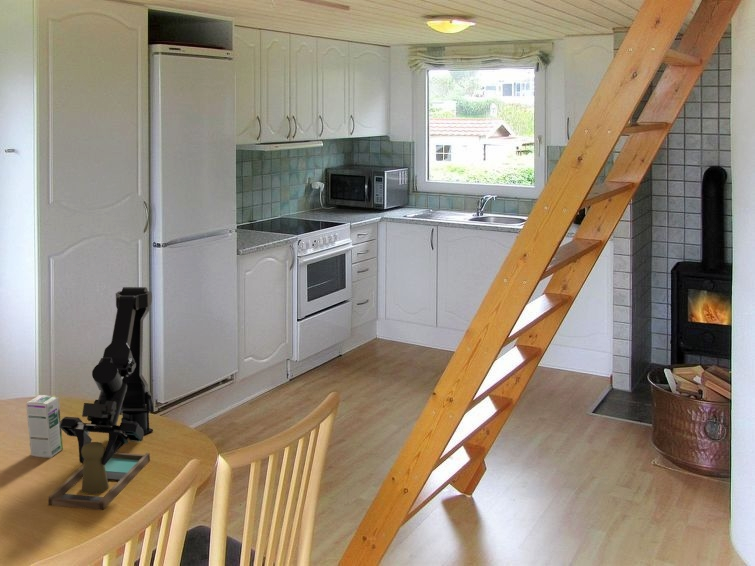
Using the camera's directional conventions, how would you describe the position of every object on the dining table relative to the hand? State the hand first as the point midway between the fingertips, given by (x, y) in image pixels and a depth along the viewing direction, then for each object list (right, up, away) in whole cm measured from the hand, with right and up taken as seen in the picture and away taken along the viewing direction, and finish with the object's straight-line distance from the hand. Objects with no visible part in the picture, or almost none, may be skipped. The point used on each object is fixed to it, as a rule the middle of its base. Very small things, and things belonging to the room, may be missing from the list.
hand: (92, 463), depth 207 cm
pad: (+2, -4, +14) cm, 15 cm away
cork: (0, -6, +2) cm, 7 cm away
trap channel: (+1, -5, +6) cm, 8 cm away
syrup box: (-18, -2, +21) cm, 28 cm away
